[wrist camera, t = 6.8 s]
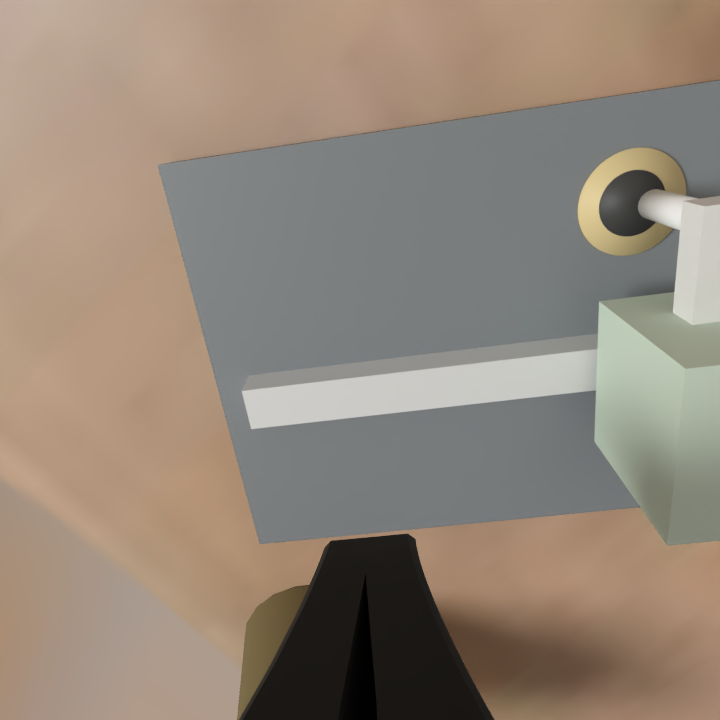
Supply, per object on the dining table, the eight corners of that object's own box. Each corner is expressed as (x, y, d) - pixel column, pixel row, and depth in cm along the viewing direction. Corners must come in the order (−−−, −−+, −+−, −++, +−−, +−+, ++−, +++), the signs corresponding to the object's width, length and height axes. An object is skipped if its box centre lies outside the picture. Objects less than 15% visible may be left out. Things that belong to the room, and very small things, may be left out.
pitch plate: (937, 456, 18) (1216, 620, 12) (265, 523, 19) (218, 697, 13) (1077, 26, 13) (1656, -55, 7) (171, 162, 14) (37, 188, 9)
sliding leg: (692, 414, 15) (820, 531, 11) (583, 426, 16) (667, 545, 11) (719, 178, 13) (899, 206, 9) (589, 195, 13) (700, 233, 9)
